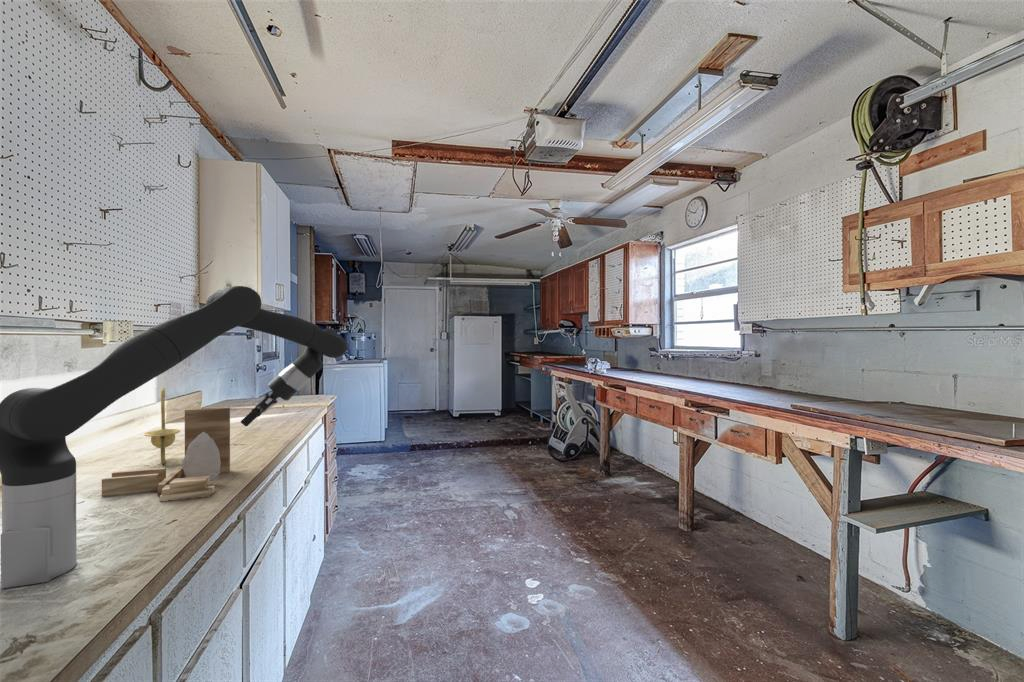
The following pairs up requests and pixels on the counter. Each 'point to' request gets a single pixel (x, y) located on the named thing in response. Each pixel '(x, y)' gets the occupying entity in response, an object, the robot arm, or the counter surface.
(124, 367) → the robot arm
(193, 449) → the stone tool
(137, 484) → the holder
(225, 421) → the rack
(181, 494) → the offcut stack
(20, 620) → the counter surface
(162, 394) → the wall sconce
